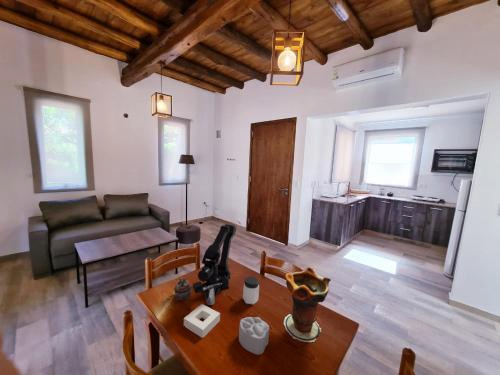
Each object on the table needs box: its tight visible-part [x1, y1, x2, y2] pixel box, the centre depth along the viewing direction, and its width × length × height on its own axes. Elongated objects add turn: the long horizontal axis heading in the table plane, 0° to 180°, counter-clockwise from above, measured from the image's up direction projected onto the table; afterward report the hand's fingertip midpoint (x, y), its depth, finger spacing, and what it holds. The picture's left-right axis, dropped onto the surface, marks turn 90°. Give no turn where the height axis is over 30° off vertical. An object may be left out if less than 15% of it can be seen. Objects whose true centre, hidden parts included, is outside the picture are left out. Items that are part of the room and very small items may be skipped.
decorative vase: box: [283, 266, 332, 343], centre depth 99 cm, size 21×23×28 cm
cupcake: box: [173, 278, 193, 302], centre depth 116 cm, size 10×10×10 cm
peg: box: [206, 285, 215, 306], centre depth 111 cm, size 4×4×9 cm
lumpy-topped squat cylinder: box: [238, 316, 270, 355], centre depth 90 cm, size 10×13×9 cm
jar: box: [242, 275, 260, 305], centre depth 117 cm, size 9×8×12 cm
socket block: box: [183, 303, 221, 339], centre depth 98 cm, size 12×12×4 cm
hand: (210, 298), depth 111 cm, fingers closed on peg, 4 cm apart
